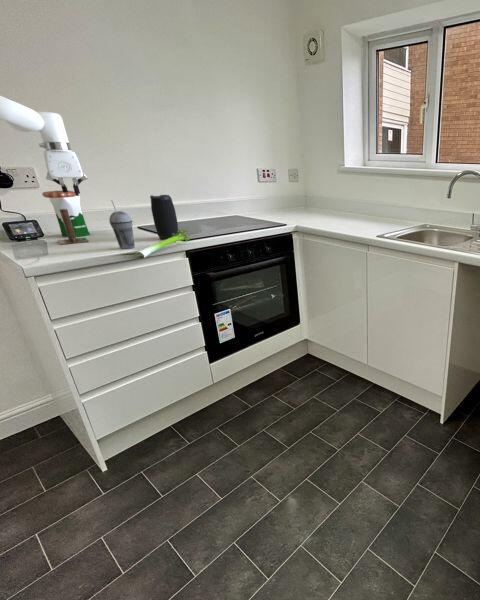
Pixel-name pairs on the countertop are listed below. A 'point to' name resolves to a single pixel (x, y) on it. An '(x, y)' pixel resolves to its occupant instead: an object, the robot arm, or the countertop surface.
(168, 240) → the leek
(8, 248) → the countertop surface
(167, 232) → the portable speaker
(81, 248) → the countertop surface
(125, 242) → the beverage cup
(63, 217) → the peg stand
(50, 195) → the ring
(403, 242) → the countertop surface
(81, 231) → the milk carton
